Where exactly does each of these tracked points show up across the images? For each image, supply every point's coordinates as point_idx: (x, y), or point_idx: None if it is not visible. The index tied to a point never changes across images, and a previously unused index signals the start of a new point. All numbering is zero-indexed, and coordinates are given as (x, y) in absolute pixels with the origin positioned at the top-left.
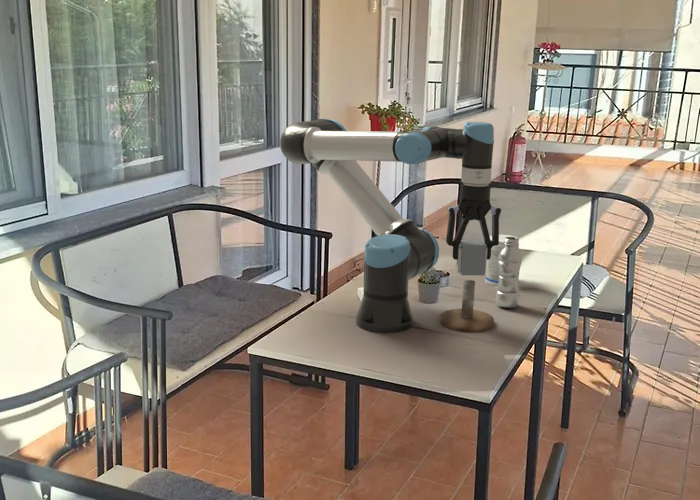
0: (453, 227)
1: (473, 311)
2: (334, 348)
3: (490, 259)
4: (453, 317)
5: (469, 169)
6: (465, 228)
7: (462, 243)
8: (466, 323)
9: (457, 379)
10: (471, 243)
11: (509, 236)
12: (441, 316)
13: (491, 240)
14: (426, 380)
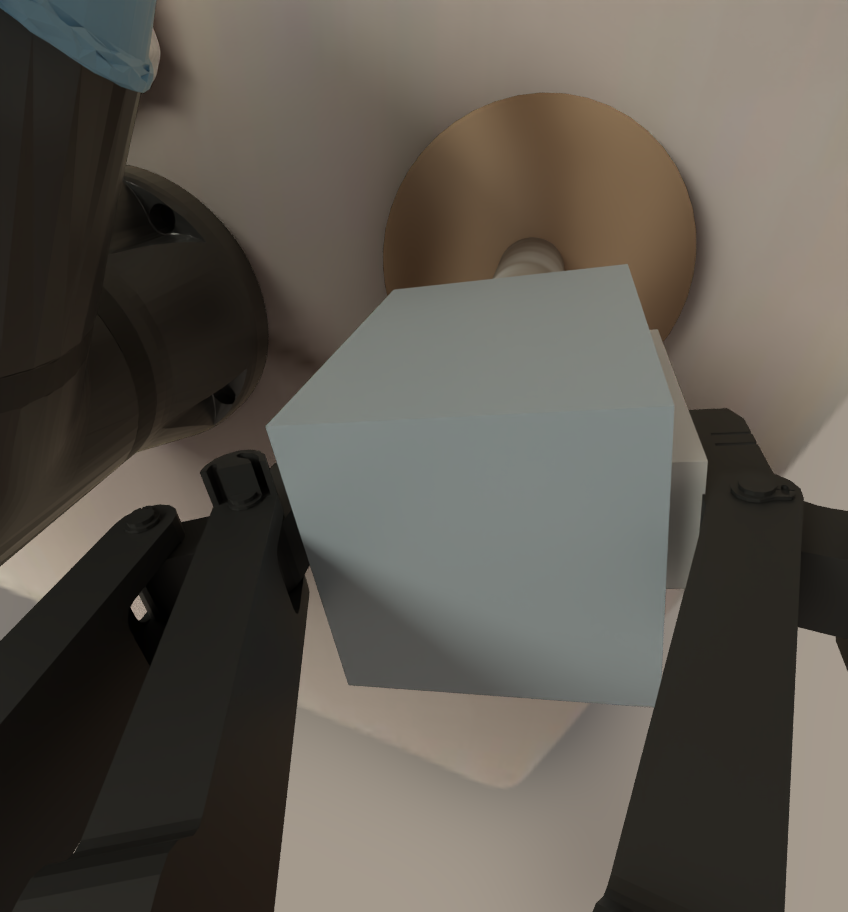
0: (69, 834)
1: (591, 146)
2: (77, 549)
3: None
4: (452, 282)
5: None
6: (275, 844)
7: (336, 615)
8: None
9: (442, 730)
10: (457, 622)
11: None
12: (387, 271)
13: (843, 563)
14: (362, 727)
